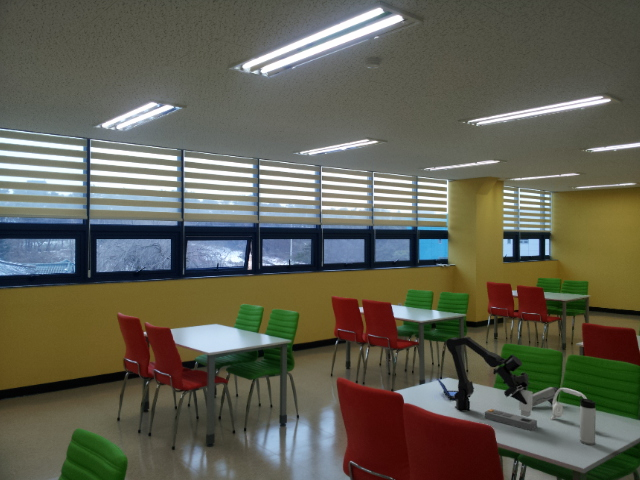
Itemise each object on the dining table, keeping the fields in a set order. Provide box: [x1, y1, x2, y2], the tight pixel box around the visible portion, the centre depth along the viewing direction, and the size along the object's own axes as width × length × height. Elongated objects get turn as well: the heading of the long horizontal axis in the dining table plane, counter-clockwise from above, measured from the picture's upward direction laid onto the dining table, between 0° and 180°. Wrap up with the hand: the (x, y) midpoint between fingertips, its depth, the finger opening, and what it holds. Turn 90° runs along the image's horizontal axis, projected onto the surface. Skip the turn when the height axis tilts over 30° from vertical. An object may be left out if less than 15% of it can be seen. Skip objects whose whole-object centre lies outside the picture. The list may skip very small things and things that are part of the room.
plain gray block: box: [518, 390, 534, 418], centre depth 248 cm, size 5×5×12 cm
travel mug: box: [579, 397, 597, 446], centre depth 228 cm, size 6×7×20 cm
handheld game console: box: [437, 378, 458, 401], centre depth 297 cm, size 16×13×9 cm
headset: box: [550, 387, 588, 421], centre depth 252 cm, size 20×7×18 cm, turn 29°
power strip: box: [484, 408, 538, 431], centre depth 254 cm, size 24×8×4 cm, turn 45°
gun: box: [532, 386, 560, 408], centre depth 281 cm, size 2×25×10 cm, turn 111°
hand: (528, 403), depth 247 cm, fingers closed on plain gray block, 5 cm apart
